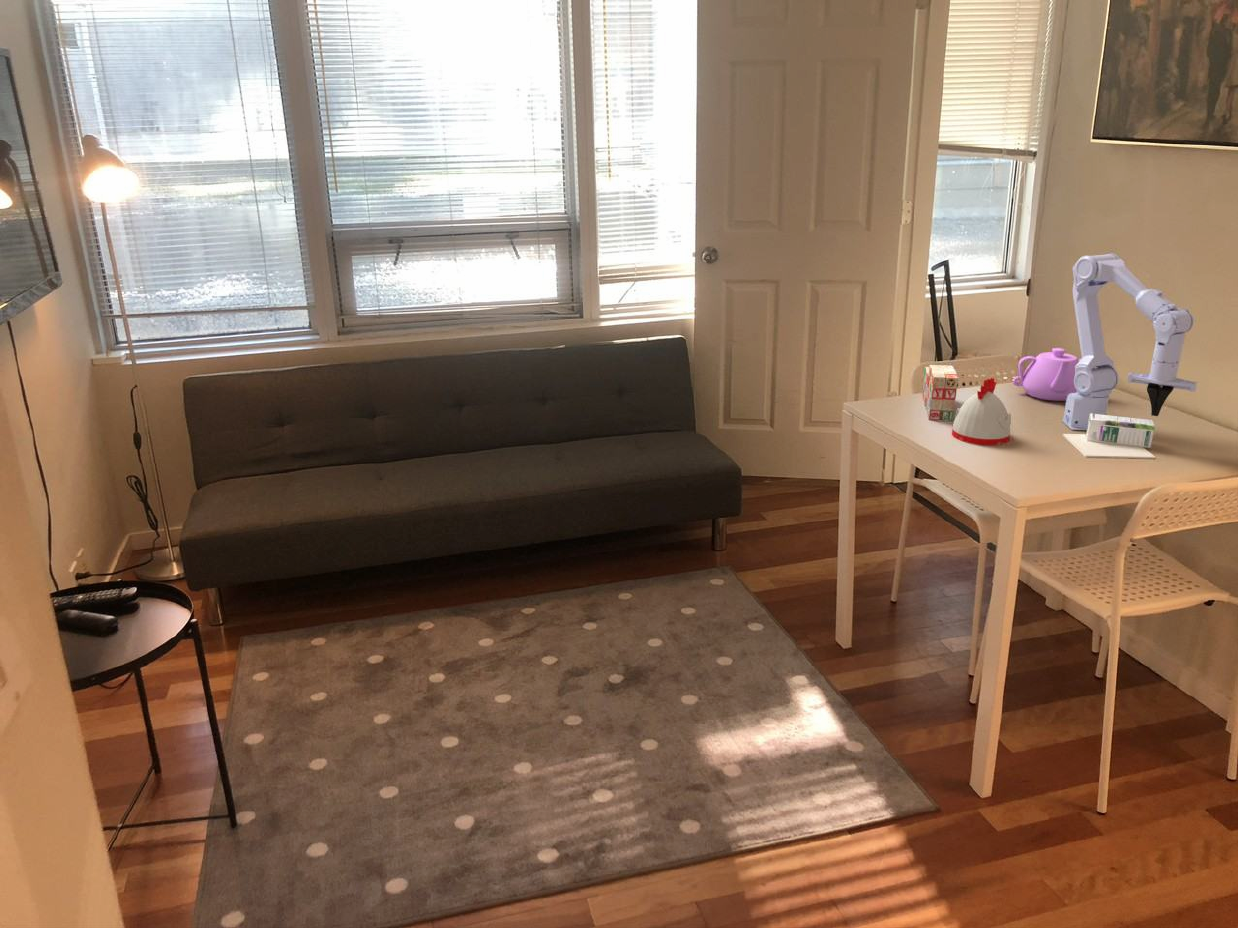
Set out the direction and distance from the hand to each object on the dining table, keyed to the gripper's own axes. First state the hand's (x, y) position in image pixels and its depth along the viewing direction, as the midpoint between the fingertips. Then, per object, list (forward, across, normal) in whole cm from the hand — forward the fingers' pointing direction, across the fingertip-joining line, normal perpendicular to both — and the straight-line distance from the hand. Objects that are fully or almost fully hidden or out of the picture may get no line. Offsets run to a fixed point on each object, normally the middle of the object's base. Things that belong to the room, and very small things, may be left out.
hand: (1155, 415), depth 236 cm
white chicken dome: (+9, +36, +15) cm, 40 cm away
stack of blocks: (+9, +53, -1) cm, 54 cm away
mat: (+8, +8, +5) cm, 13 cm away
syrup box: (+5, 0, -1) cm, 5 cm away
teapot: (+9, +30, -31) cm, 44 cm away
